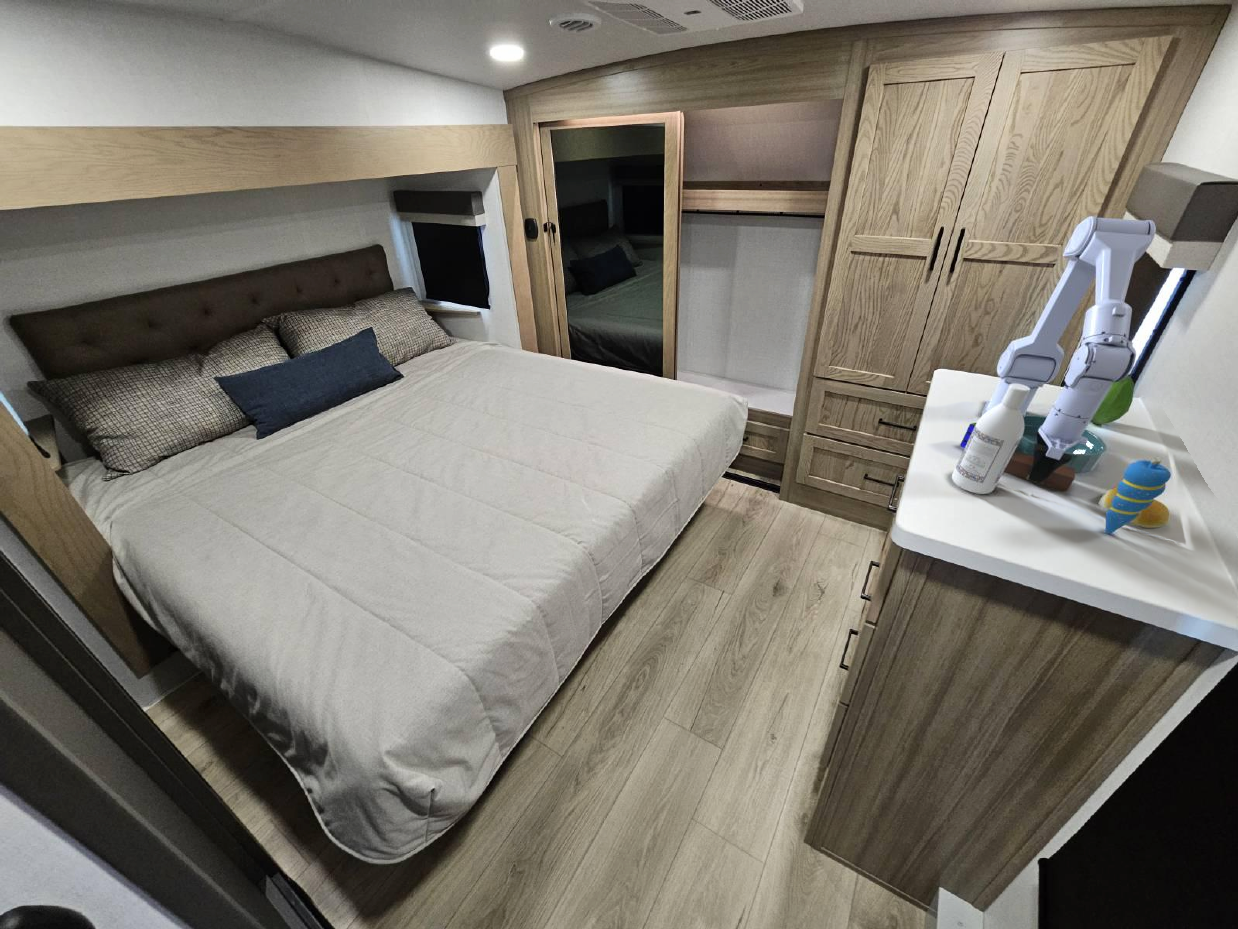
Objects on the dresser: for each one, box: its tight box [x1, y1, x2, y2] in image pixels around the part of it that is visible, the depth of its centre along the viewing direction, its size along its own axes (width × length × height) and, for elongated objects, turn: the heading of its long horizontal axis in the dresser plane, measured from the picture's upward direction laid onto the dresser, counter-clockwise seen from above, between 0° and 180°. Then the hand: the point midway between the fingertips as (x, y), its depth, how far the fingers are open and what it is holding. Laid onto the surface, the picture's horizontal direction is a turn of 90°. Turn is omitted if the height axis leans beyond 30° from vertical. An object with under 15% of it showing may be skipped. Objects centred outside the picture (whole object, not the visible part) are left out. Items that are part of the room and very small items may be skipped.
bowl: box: [1015, 414, 1107, 474], centre depth 105 cm, size 16×16×4 cm
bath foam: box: [951, 383, 1030, 495], centre depth 91 cm, size 7×7×20 cm
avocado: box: [1089, 375, 1135, 425], centre depth 115 cm, size 8×8×12 cm
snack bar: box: [1003, 451, 1076, 493], centre depth 97 cm, size 10×4×3 cm, turn 52°
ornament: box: [1104, 455, 1172, 535], centre depth 81 cm, size 5×5×15 cm
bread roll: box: [1098, 486, 1171, 529], centre depth 89 cm, size 8×9×4 cm
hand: (1036, 474), depth 98 cm, fingers open, 5 cm apart
